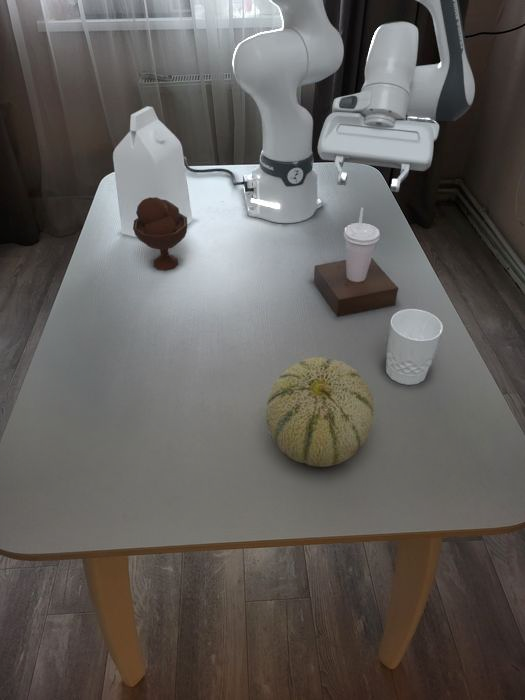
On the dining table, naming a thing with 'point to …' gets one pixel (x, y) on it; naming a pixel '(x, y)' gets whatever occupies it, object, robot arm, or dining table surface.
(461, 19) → the robot arm
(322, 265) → the block
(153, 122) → the milk
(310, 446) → the cantaloupe
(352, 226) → the smoothie
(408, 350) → the white cup
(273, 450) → the dining table surface
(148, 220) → the ice cream bowl
